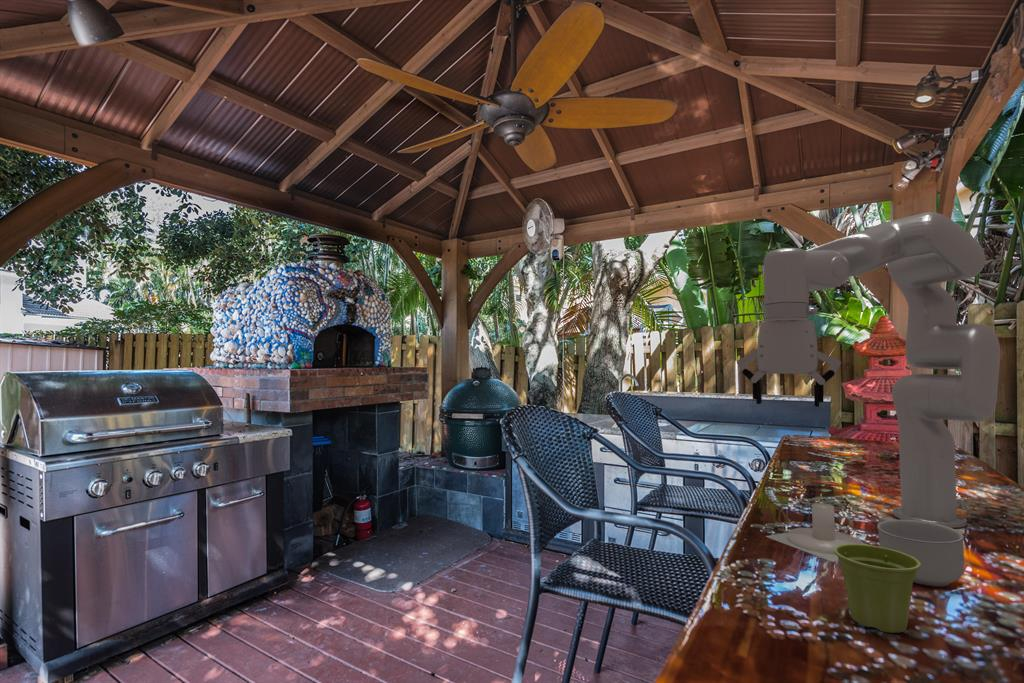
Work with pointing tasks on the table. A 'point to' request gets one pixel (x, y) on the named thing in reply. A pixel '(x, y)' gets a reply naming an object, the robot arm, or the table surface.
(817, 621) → the table surface
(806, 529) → the lid
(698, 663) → the table surface
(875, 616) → the plant pot
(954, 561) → the teacup
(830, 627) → the table surface
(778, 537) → the mat
